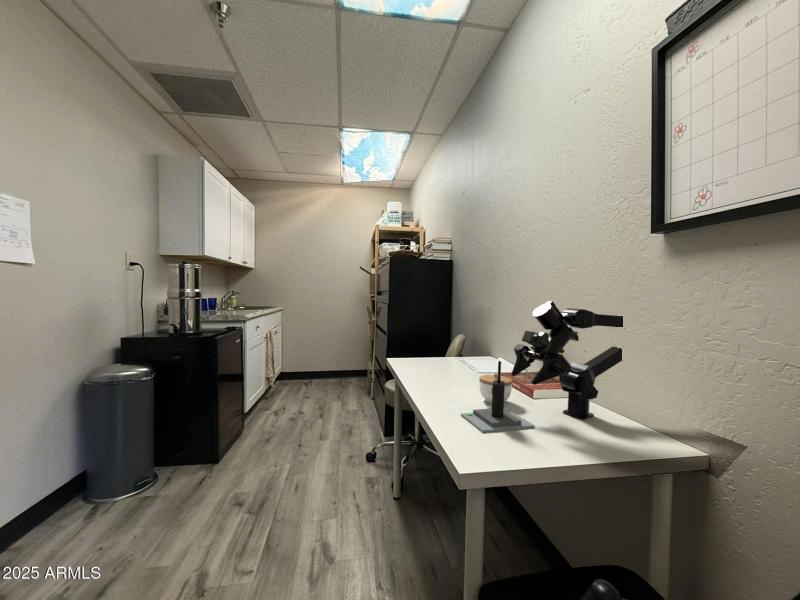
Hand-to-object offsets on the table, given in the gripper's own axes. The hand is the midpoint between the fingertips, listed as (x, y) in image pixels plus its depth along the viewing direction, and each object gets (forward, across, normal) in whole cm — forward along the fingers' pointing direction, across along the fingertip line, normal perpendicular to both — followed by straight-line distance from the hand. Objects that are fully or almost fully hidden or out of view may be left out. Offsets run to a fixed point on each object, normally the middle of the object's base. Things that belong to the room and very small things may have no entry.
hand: (522, 379), depth 93 cm
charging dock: (+14, 0, +2) cm, 14 cm away
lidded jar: (+7, -16, +9) cm, 20 cm away
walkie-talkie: (+13, 0, +2) cm, 13 cm away
